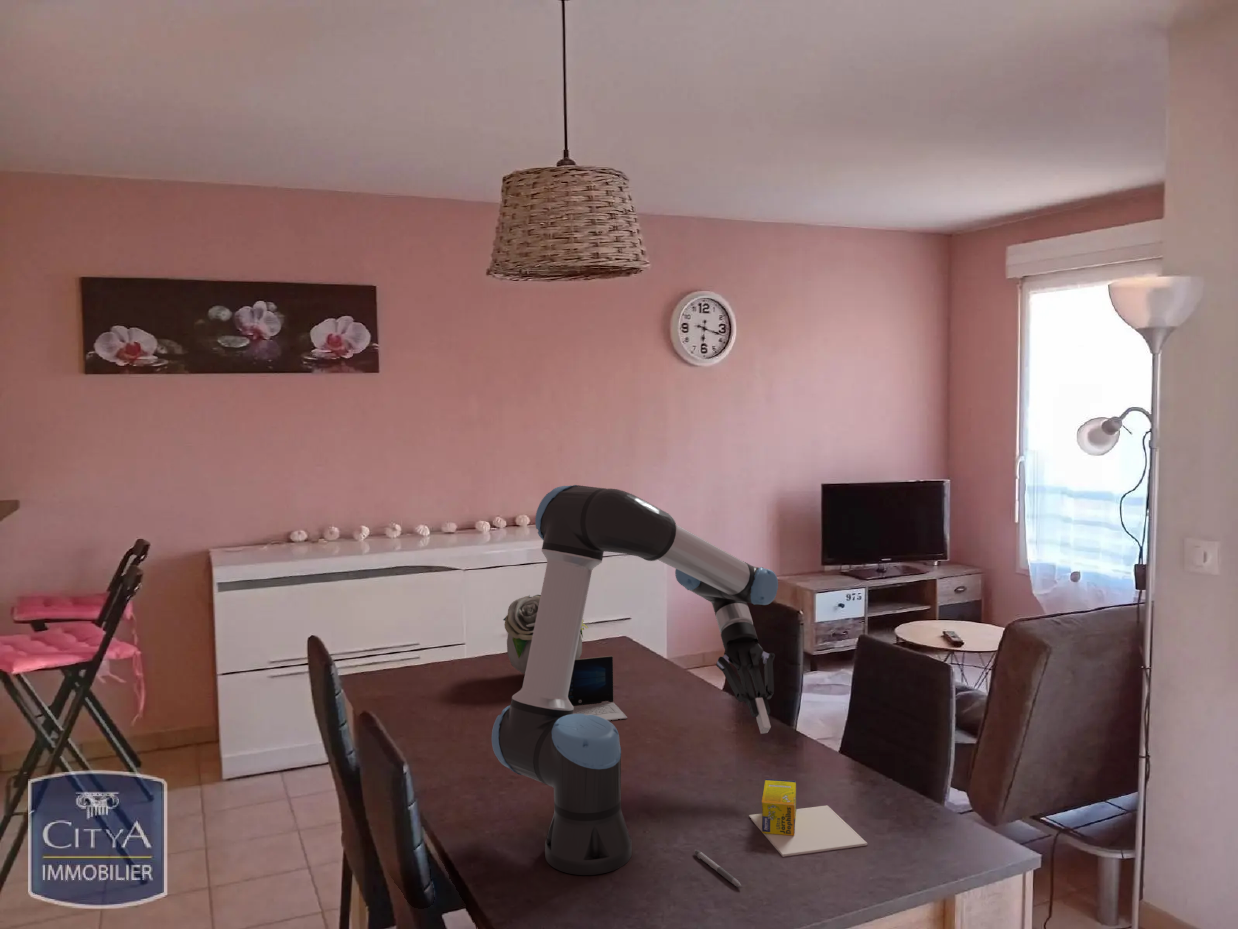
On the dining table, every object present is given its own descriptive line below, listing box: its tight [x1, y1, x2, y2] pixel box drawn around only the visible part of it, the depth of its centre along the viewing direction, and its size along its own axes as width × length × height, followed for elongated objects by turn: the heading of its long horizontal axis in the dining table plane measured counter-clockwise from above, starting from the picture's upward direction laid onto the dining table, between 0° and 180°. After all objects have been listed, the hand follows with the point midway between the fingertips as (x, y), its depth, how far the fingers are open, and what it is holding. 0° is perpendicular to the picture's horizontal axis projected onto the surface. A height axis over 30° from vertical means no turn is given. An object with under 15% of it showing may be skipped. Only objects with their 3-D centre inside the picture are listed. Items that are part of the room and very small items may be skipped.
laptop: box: [568, 655, 628, 722], centre depth 239 cm, size 18×12×13 cm
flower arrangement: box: [502, 594, 589, 675], centre depth 268 cm, size 25×25×24 cm
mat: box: [748, 805, 868, 858], centre depth 175 cm, size 16×16×1 cm
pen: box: [694, 849, 742, 888], centre depth 160 cm, size 1×14×1 cm, turn 28°
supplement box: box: [760, 778, 797, 836], centre depth 177 cm, size 6×6×11 cm
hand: (765, 730), depth 193 cm, fingers closed
